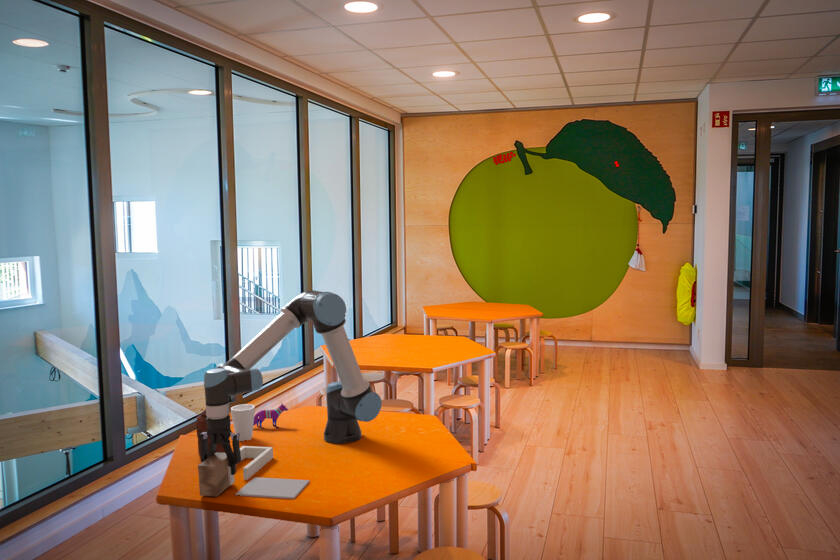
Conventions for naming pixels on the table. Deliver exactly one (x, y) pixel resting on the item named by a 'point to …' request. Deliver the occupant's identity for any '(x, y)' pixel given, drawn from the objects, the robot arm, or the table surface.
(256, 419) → the toy dog
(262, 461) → the bay
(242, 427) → the foam cup
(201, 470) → the walnut block
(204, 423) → the wooden figurine
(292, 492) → the mat
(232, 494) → the table surface
